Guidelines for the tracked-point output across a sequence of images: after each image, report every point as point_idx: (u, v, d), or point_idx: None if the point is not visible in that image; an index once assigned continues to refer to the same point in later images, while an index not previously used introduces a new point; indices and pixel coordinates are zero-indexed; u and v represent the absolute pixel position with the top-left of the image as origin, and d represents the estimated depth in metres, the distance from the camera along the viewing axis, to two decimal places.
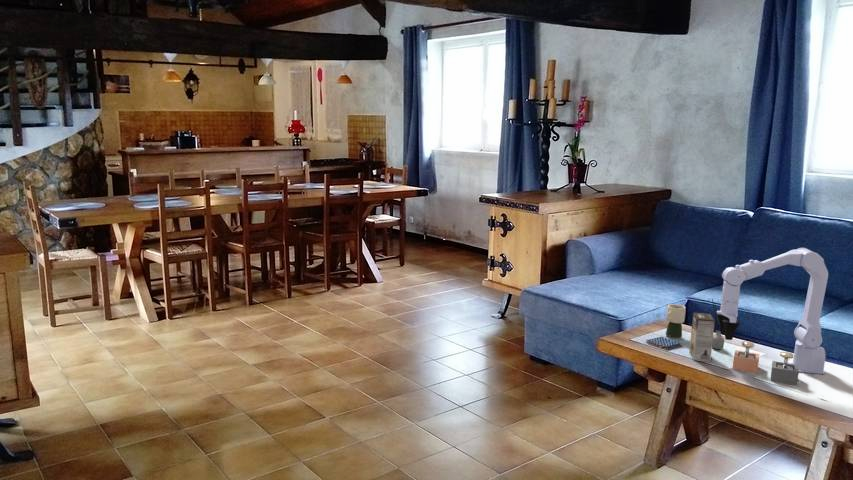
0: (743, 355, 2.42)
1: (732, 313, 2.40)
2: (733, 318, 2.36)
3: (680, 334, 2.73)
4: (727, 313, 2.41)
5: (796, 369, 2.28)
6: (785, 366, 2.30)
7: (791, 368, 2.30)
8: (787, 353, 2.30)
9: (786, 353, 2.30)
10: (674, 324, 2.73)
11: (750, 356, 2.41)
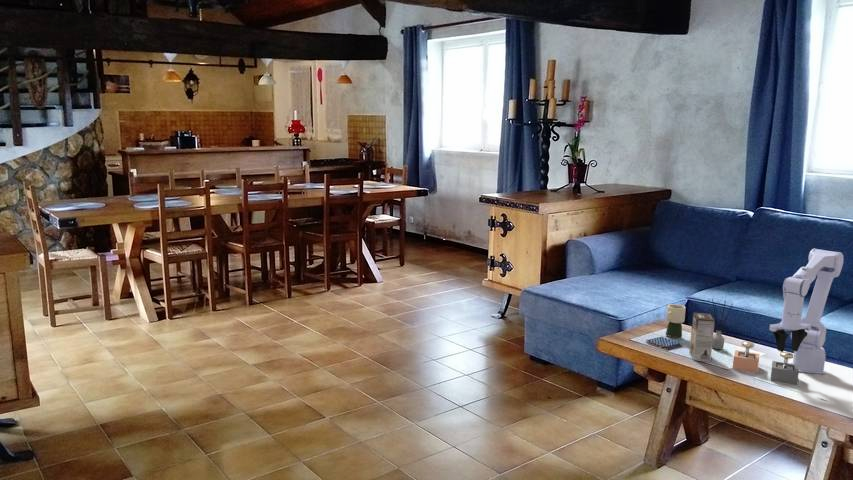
0: (743, 355, 2.42)
1: (784, 324, 2.27)
2: (771, 326, 2.27)
3: (680, 334, 2.73)
4: (781, 323, 2.29)
5: (796, 369, 2.28)
6: (785, 366, 2.30)
7: (791, 368, 2.30)
8: (787, 353, 2.30)
9: (786, 353, 2.30)
10: (674, 324, 2.73)
11: (750, 356, 2.41)
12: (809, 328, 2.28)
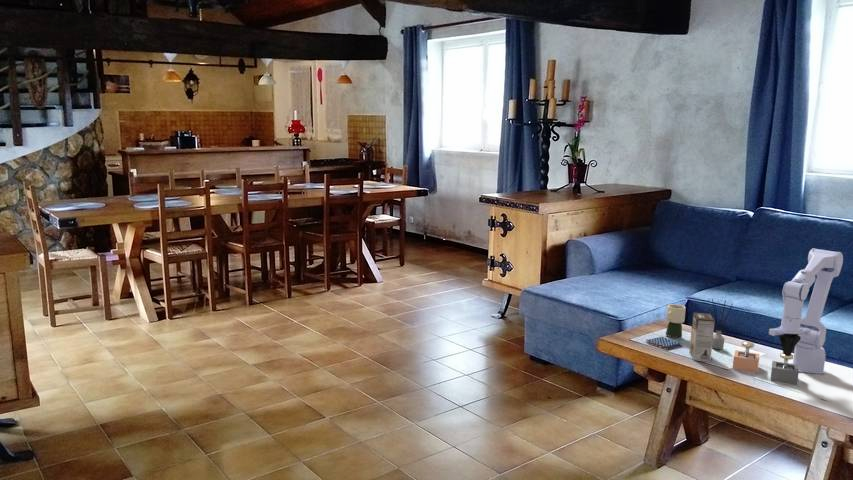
0: (743, 355, 2.42)
1: (784, 328, 2.27)
2: (771, 330, 2.27)
3: (680, 334, 2.73)
4: (781, 327, 2.29)
5: (796, 369, 2.28)
6: (785, 367, 2.30)
7: (791, 369, 2.30)
8: None
9: None
10: (674, 324, 2.73)
11: (750, 356, 2.41)
12: (808, 332, 2.29)
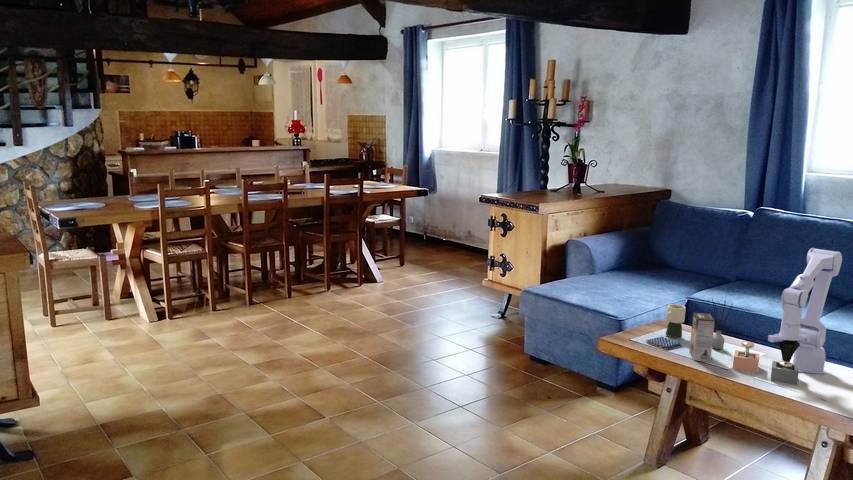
0: (743, 355, 2.42)
1: (783, 335, 2.28)
2: (770, 337, 2.27)
3: (680, 334, 2.73)
4: (780, 334, 2.29)
5: (796, 369, 2.28)
6: None
7: None
8: (786, 362, 2.30)
9: (785, 362, 2.31)
10: (674, 324, 2.73)
11: (750, 356, 2.41)
12: (808, 339, 2.29)
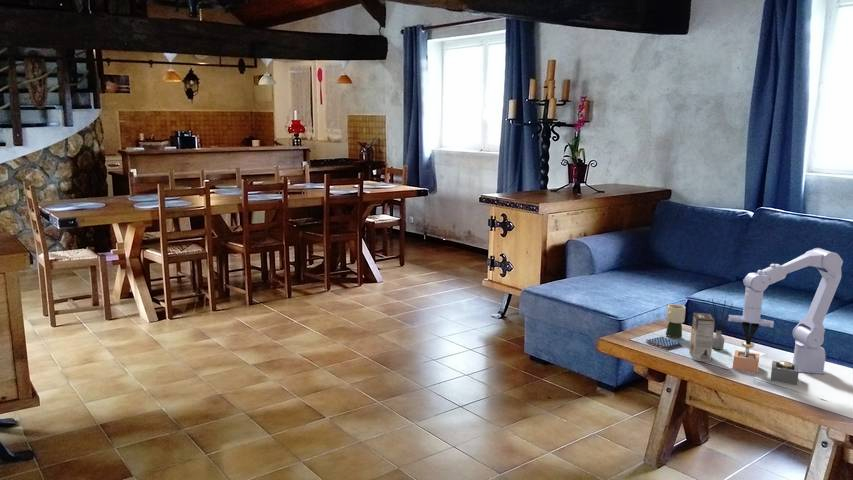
0: (743, 355, 2.42)
1: (742, 316, 2.39)
2: (729, 316, 2.42)
3: (680, 334, 2.73)
4: None
5: (796, 369, 2.28)
6: None
7: None
8: (786, 362, 2.30)
9: (785, 362, 2.31)
10: (674, 324, 2.73)
11: (750, 356, 2.41)
12: (771, 325, 2.35)
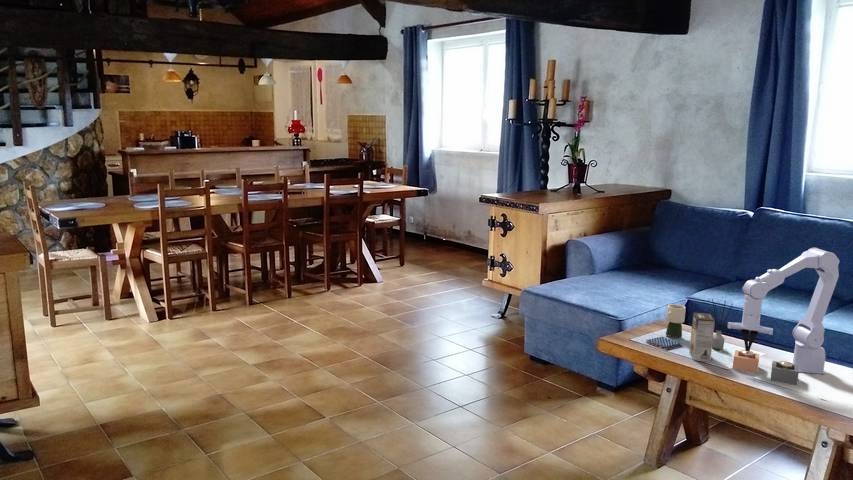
0: None
1: (741, 324, 2.40)
2: (728, 323, 2.42)
3: (680, 334, 2.73)
4: None
5: (796, 369, 2.28)
6: None
7: None
8: (786, 362, 2.30)
9: (785, 362, 2.31)
10: (674, 324, 2.73)
11: None
12: (770, 332, 2.35)
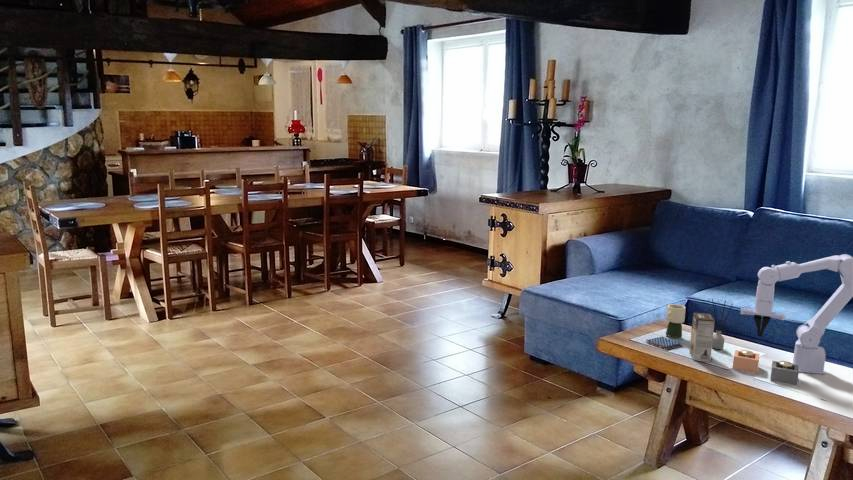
0: None
1: (754, 309, 2.45)
2: (741, 309, 2.48)
3: (680, 334, 2.73)
4: None
5: (796, 369, 2.28)
6: None
7: None
8: (786, 362, 2.30)
9: (785, 362, 2.31)
10: (674, 324, 2.73)
11: None
12: (782, 318, 2.41)
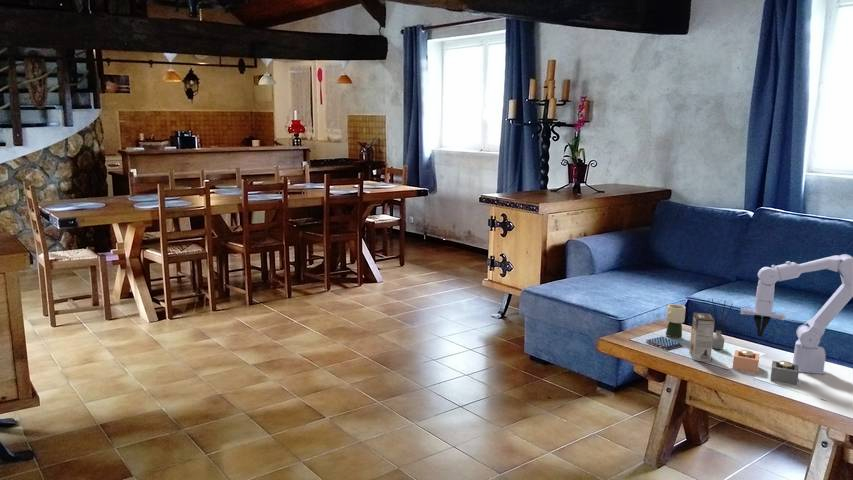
0: None
1: (754, 309, 2.45)
2: (741, 309, 2.48)
3: (680, 334, 2.73)
4: None
5: (796, 369, 2.28)
6: None
7: None
8: (786, 362, 2.30)
9: (785, 362, 2.31)
10: (674, 324, 2.73)
11: None
12: (782, 318, 2.41)
